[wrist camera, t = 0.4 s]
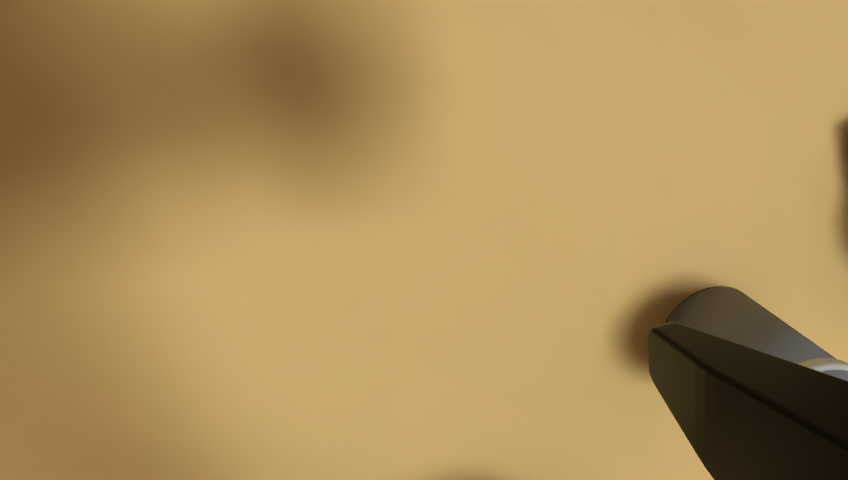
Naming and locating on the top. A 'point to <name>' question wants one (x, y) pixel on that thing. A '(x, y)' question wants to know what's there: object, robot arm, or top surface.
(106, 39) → the top surface
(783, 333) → the lens
